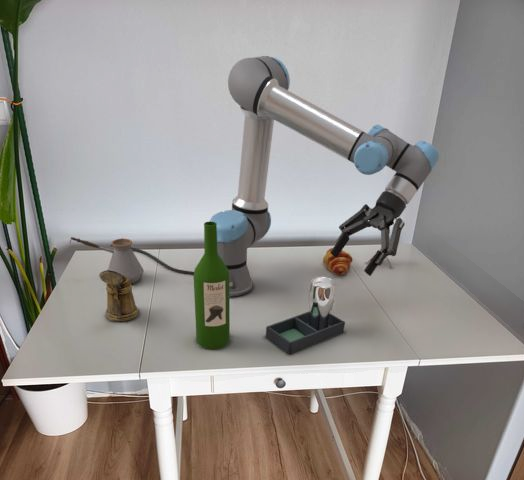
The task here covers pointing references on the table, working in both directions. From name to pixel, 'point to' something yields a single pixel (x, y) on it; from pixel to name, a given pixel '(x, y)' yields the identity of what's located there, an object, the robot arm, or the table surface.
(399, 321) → the table surface
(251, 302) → the table surface
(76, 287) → the table surface
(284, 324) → the rectangular tray
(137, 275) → the coffee pot
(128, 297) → the wooden mug
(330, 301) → the beer glass
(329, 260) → the croissant
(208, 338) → the wine bottle
